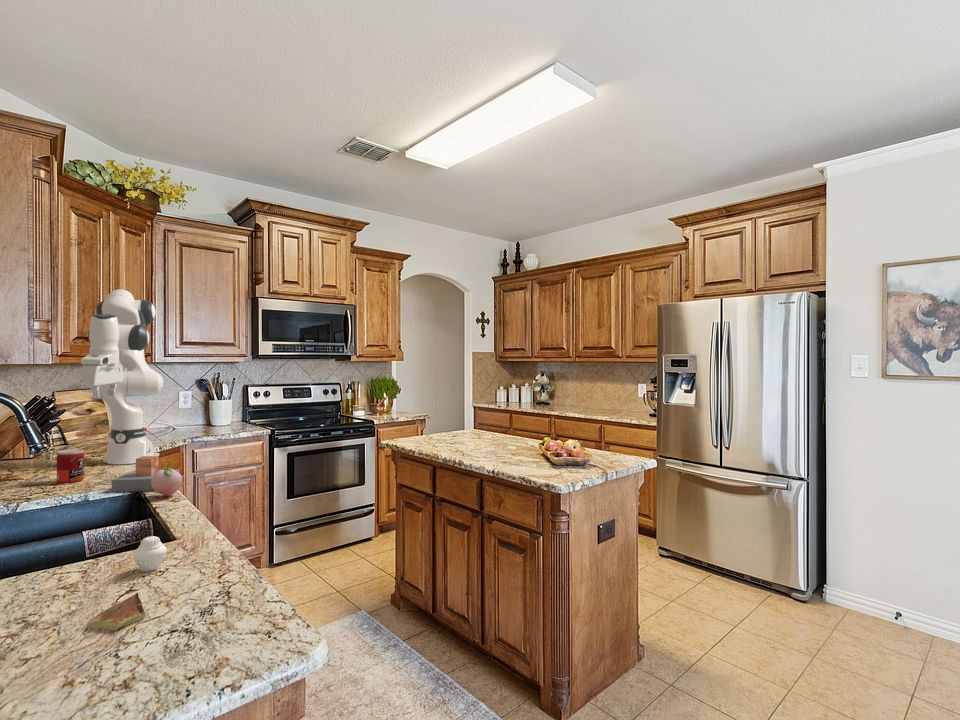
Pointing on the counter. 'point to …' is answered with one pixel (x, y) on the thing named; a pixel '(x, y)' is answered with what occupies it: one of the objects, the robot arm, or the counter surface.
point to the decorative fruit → (166, 481)
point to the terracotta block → (146, 465)
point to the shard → (119, 614)
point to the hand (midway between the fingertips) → (104, 396)
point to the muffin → (150, 554)
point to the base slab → (133, 482)
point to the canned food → (70, 466)
